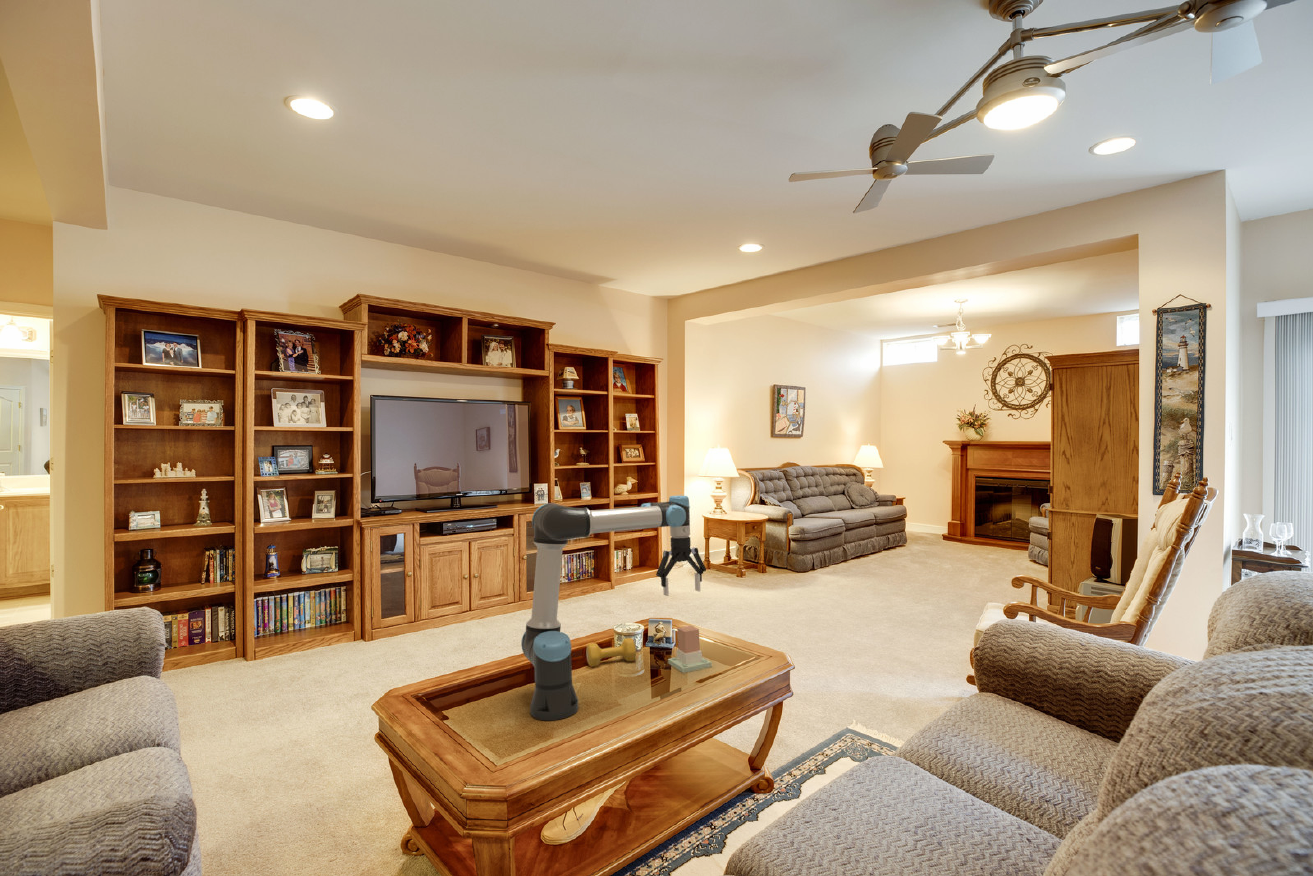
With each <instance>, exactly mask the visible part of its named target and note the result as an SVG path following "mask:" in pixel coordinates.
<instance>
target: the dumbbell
mask: <svg viewBox="0 0 1313 876" xmlns="http://www.w3.org/2000/svg"><path fill="white" fill-rule="evenodd" d="M585 655H586V661H587V662H586V663H587V664H588V666H589V668H592V667H593V668H594V667H597V666H599V665H600V663H601V660H602V659H604V658H606V659H607V658H613V657H620V656H621V657H623V659H624V660H625V661H626V662H630V663H631V662H634V661H635V660H636V657H637V647H636V643H635V640H634V639H633V638H632V637H626V638H624V639H623V641H622V643H621V645H619V646H612V647H611V646H610V647H605V648H601V647H600V646H599V645H598V644H597V643H596V642H589V643H587V645H586V654H585Z"/></svg>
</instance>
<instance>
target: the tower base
mask: <svg viewBox="0 0 1313 876" xmlns="http://www.w3.org/2000/svg"><path fill="white" fill-rule="evenodd" d="M667 664H669V665H670V666H672V667H673V668H674V669H676V670H678V671H679V672H681V673H682V674H685V673H689V672H694V671H698V670H703V669H708V668H711V667H712V662H711V661H710V660H708V659H707V658H704V657H703V651H702V650H701V649H700V651H696V652H691V653H687V654H685V653H684V652H682V651H680V650H679V649H678V648H676V657H674V656H673V657H672V658H668V659H667Z"/></svg>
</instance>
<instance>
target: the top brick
mask: <svg viewBox="0 0 1313 876" xmlns="http://www.w3.org/2000/svg"><path fill="white" fill-rule="evenodd" d="M676 631H677V649H679V650H680V651H682V652H684V653H685V654H687V653H691V652H696V651H700V650H701V649H700V647H701V645H700V629H699V628H697V627H695V626H694V625H686V626H682V627H677V628H676Z"/></svg>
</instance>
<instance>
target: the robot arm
mask: <svg viewBox="0 0 1313 876" xmlns="http://www.w3.org/2000/svg"><path fill="white" fill-rule="evenodd" d="M690 508H691V506H690V499H689V497H688V495H681V494H680V495H670V496H669V498H668V500H667V501H663V502H658V501H657V502H647V503H642V504H641V505H640V506H636V507H623V508H607V509H595V510H594V509H593V510H590V509H589V508H588V507H570V506H565V505H563V504H562V505H561V504H558V503H553V502H551V503H545V504H543V505H540V506H539V507H537V509H535V511H534V512H533V515H532V518H531V525H532V528H533V544H534V545H535V546H536V548H537V550H536V561H535V572H534V583H533V584H534V585H533V593H532V594H533V596H532V607H531V616H530V617H531V618H530V619H528V620H527V622H526V624H525V626H526V627H525V631H524V633H523V635H522V637H521V649H522V650H521V651H522V653H523V655H524V656H525V658H526V659H527V660H528V661H529V662H530V663H531V665H533V667H534V692H533V694H532V698H531V701H530V705H529V706H530V708H529V709H530V711H529V712H530V715H531V717H532V718H534V719H537V720H540V721H556V720H562V719H566V718H569V717H571V716H573V715H574V714H576V713H577V712H578V710H579V708H580V707H579V704H580V703H579V699H578V696H577V693H576V691H575V687H574V685H573V674H572V672H573V668H572V643H571V639H570V636H569V635H568V634H566V633H565V632H562V631H561V622H560V621H559V620H558V607H559V597H560V596H559V595H560V583H561V572H562V558H563V550H564V548H565V547H566V546H567V545H568V542H569V540H574V539H575V540H576V539H580V538H587V537H590V535H592V534H597V533H612V532H619V531H631V530H641V529H652V528H664V527H669V528H670V529H669V530H670V531H669V532H670V533H669V534H670V536H671V537H670V551H669V550H663V551H662V552H663V553H662V558H661V561H660V563H659V566H658V568H657V572H656V573H655V575H656V577H658V578H660V582H661V585H660V586H661V587H663V588H662V589H663V590H662V592H663V595H664V596H666V597H669V595H670V594H669V578H668V575H669V574H670V572H671V571H672V569H673V567H674V566H675V565H676V564H677V563H680V562H681V563H682V562H687V563H688V564H689V565H690V566H691V567H692V568H693V570H694V571H695V573H694V588H695V589H694V591H696V592H701V582H702V581H703V578H702V577H703V576H702V575H703V574H704V572H706V571H707V568H706V566H705V564H704V562H703V560H702V557H701V556H700V554H699V553H700V552H699V549H698V547H692V548H691V546H692V545H691V544H692V543H691V537H690V535H691V525H690V524H691V522H690V521H691V518H690ZM691 554H692V556H693V558H694V560H695V561H694V560H693V558H692V556H691ZM670 556H671V557H670ZM669 558H670V559H669ZM668 561H669V562H668Z"/></svg>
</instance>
